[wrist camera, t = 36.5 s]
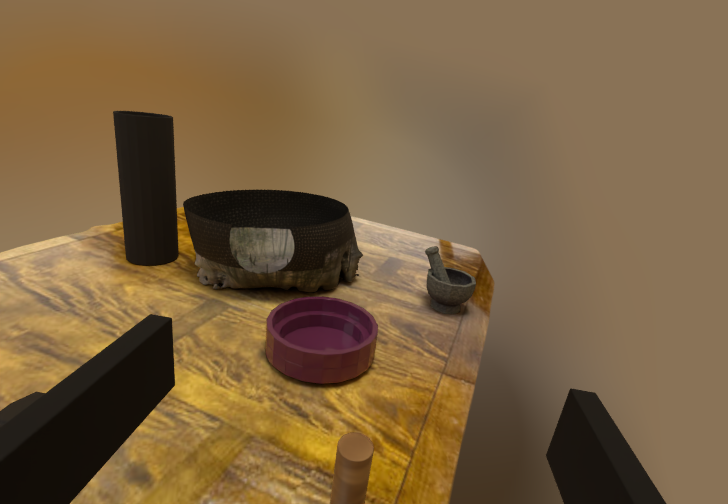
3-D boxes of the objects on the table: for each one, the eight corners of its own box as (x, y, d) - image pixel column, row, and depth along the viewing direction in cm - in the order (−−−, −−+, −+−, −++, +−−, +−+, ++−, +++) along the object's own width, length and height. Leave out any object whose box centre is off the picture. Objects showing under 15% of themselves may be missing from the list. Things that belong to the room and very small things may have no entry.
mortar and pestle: (474, 306, 85) (486, 253, 81) (461, 323, 77) (475, 266, 73) (424, 290, 90) (434, 239, 85) (408, 304, 82) (418, 249, 78)
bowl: (386, 342, 67) (391, 314, 66) (347, 403, 53) (352, 368, 51) (300, 315, 72) (302, 288, 71) (242, 363, 58) (243, 330, 56)
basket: (337, 324, 71) (347, 238, 66) (158, 287, 76) (154, 203, 70) (366, 268, 97) (375, 203, 92) (232, 243, 102) (233, 179, 97)
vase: (160, 269, 83) (151, 117, 73) (114, 261, 84) (100, 110, 74) (187, 252, 93) (183, 117, 83) (146, 246, 94) (137, 111, 84)
